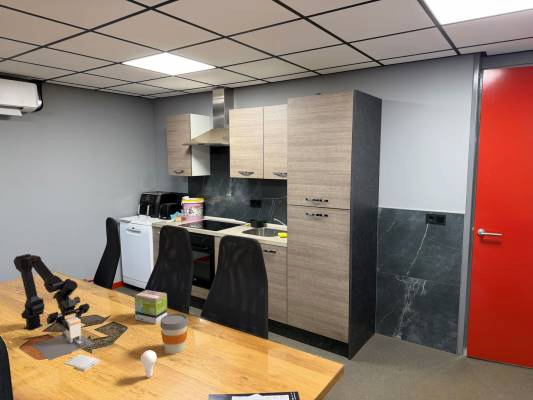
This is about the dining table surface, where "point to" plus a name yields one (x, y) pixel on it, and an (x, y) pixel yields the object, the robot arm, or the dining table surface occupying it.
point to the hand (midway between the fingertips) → (74, 328)
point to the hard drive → (82, 362)
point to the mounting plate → (59, 346)
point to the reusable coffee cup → (174, 332)
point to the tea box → (150, 306)
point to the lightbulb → (148, 362)
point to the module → (73, 329)
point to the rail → (76, 340)
